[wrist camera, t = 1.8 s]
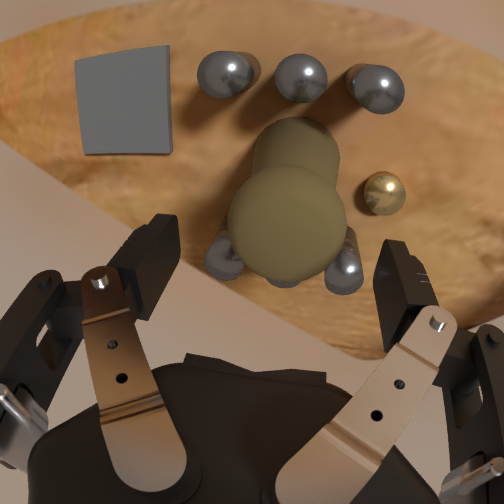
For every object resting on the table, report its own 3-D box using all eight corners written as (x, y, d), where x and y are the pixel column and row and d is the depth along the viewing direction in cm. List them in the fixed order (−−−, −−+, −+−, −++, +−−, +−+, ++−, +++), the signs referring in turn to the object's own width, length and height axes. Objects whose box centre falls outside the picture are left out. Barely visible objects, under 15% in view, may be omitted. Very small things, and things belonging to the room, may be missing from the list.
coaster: (169, 45, 18) (166, 45, 18) (173, 150, 23) (169, 153, 22) (79, 60, 19) (74, 60, 18) (88, 151, 24) (84, 153, 23)
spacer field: (385, 67, 17) (407, 71, 13) (352, 255, 25) (358, 296, 21) (221, 52, 18) (197, 51, 14) (222, 239, 26) (205, 277, 22)
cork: (292, 213, 24) (277, 322, 15) (235, 154, 22) (179, 236, 13) (357, 165, 21) (389, 257, 12) (299, 98, 19) (290, 138, 10)
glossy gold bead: (399, 167, 21) (403, 173, 20) (403, 204, 22) (407, 211, 21) (359, 174, 22) (361, 180, 21) (366, 211, 23) (368, 218, 22)
